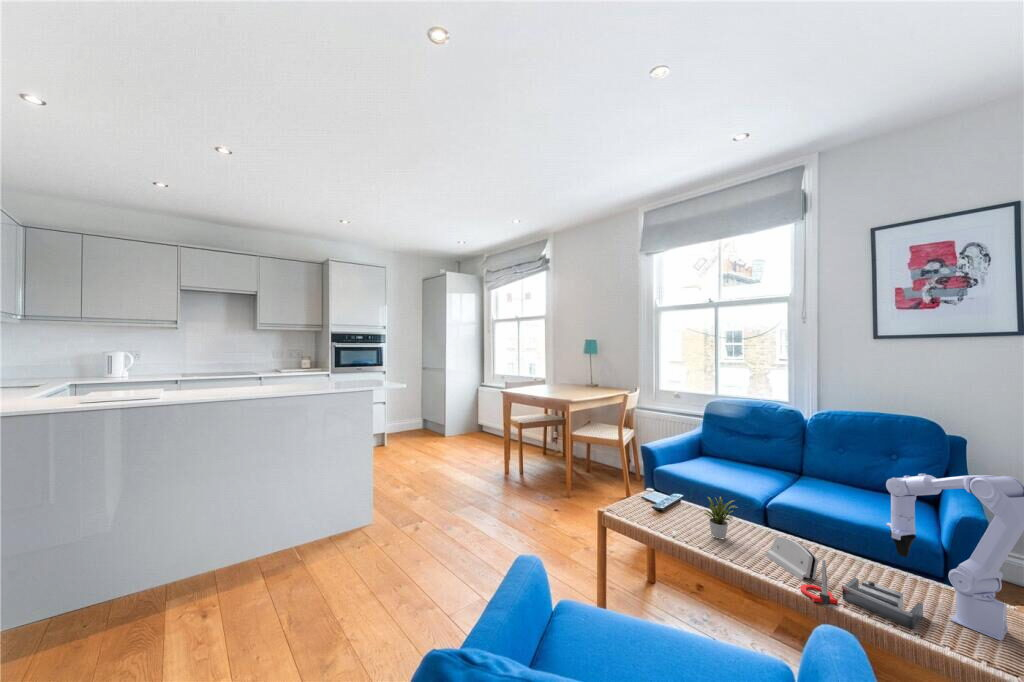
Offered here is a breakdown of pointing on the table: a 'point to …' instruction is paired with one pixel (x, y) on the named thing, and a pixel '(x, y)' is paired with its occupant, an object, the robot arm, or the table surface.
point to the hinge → (793, 558)
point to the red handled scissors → (825, 595)
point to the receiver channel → (881, 605)
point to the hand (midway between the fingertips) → (902, 555)
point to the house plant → (719, 518)
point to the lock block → (882, 593)
